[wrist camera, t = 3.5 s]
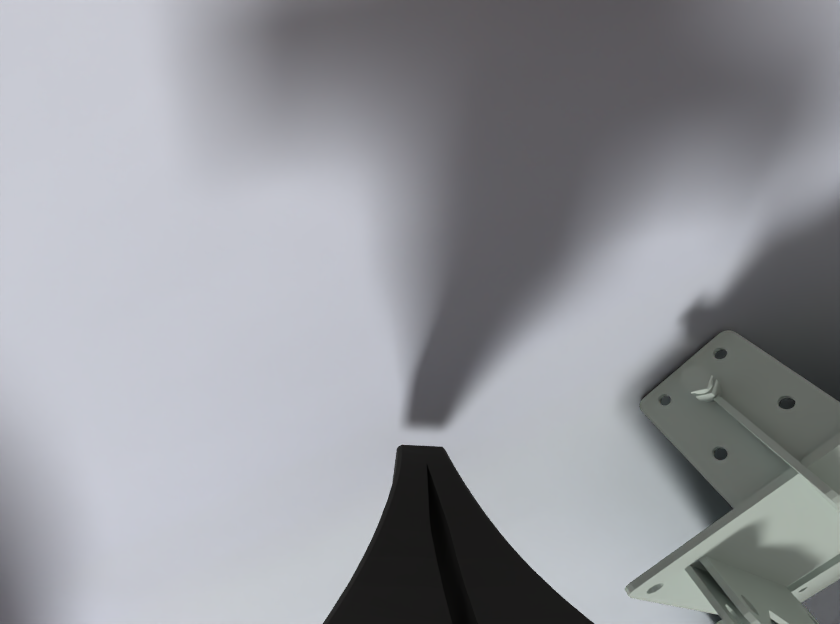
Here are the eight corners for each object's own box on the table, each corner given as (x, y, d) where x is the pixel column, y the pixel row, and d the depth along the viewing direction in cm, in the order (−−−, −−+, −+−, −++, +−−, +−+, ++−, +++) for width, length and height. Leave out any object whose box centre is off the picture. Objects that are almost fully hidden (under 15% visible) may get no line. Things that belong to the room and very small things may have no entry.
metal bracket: (593, 717, 10) (1352, 243, 6) (495, 502, 15) (898, 150, 11) (765, 696, 18) (1158, 475, 14) (665, 558, 23) (939, 362, 19)
